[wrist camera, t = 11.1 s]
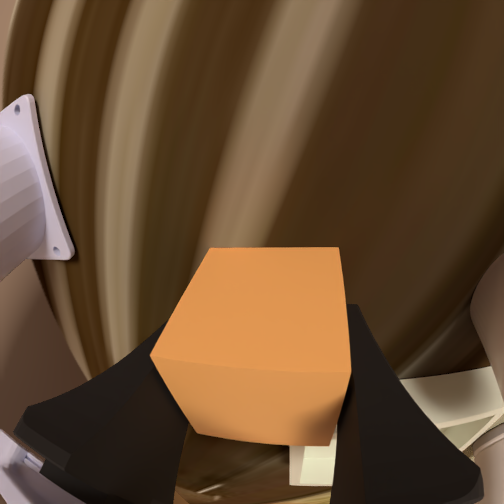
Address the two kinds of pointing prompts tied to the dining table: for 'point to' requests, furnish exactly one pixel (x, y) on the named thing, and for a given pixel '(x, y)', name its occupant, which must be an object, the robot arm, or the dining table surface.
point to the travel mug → (491, 464)
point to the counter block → (260, 346)
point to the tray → (433, 405)
